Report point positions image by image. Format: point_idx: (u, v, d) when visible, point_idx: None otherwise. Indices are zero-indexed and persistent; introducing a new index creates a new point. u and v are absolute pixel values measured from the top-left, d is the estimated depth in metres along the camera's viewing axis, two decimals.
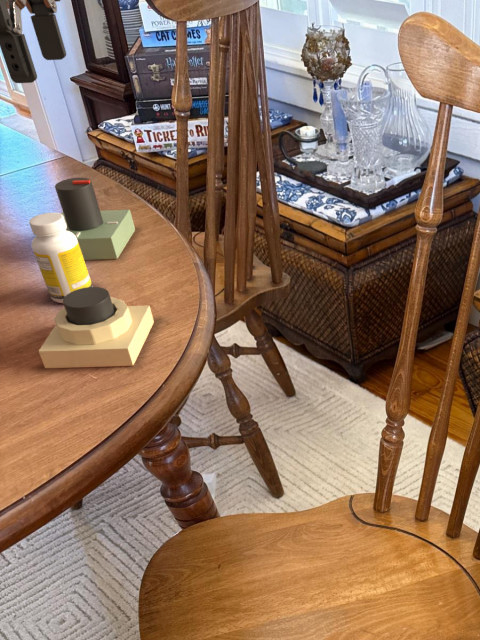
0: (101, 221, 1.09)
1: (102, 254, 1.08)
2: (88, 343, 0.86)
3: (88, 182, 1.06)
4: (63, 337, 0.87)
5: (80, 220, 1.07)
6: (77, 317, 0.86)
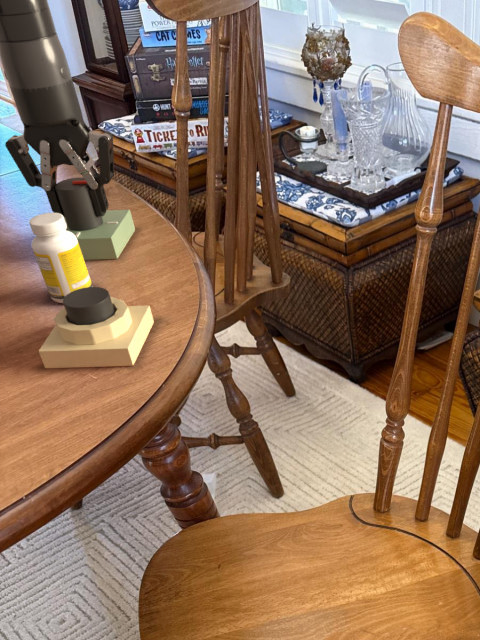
0: (101, 221, 1.09)
1: (102, 254, 1.08)
2: (88, 343, 0.86)
3: None
4: (63, 337, 0.87)
5: (80, 220, 1.07)
6: (77, 317, 0.86)
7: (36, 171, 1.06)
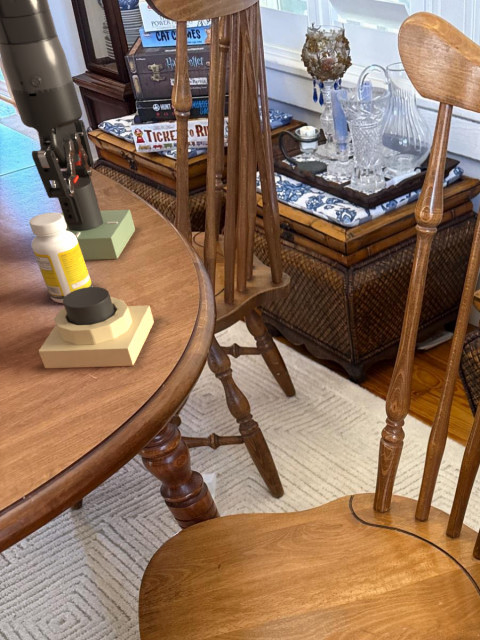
0: None
1: (102, 254, 1.08)
2: (88, 343, 0.86)
3: (77, 176, 1.08)
4: (63, 337, 0.87)
5: None
6: (77, 317, 0.86)
7: (51, 186, 1.01)
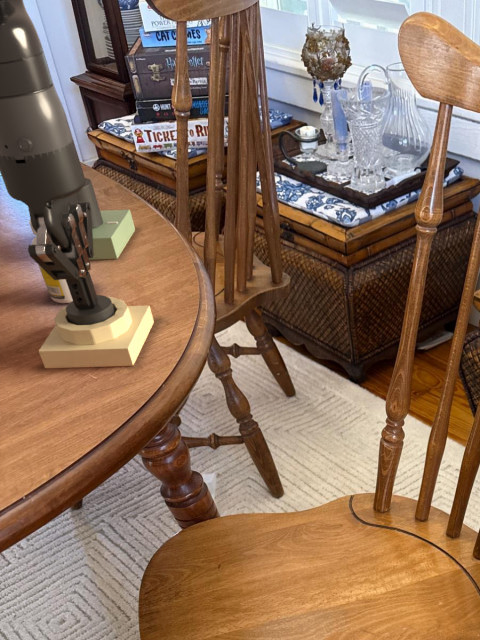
0: None
1: (102, 254, 1.08)
2: (88, 343, 0.86)
3: None
4: (63, 337, 0.87)
5: None
6: None
7: None
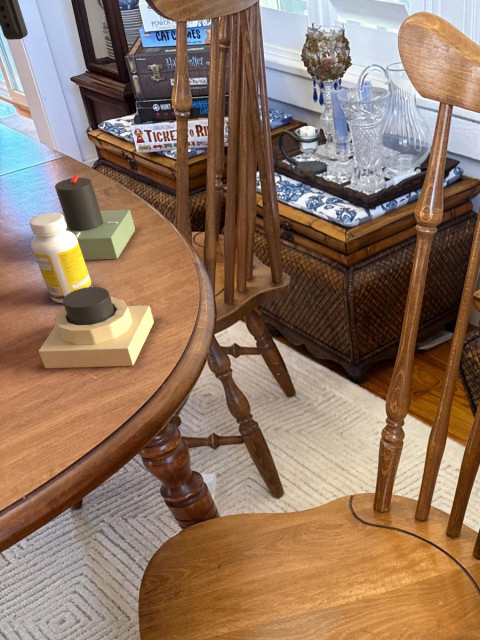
0: None
1: (102, 254, 1.08)
2: (88, 343, 0.86)
3: (77, 176, 1.08)
4: (63, 337, 0.87)
5: None
6: (77, 317, 0.86)
7: None
